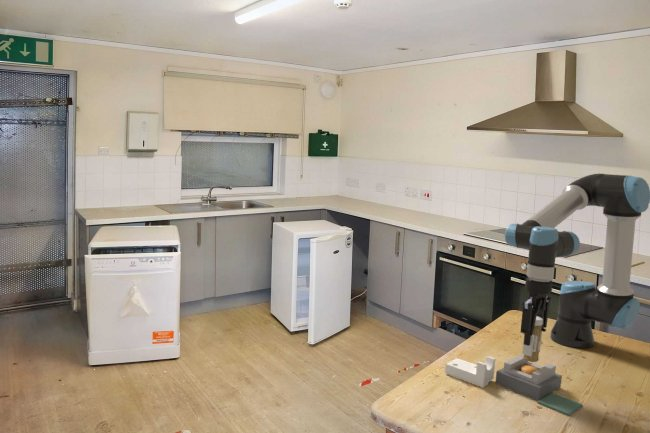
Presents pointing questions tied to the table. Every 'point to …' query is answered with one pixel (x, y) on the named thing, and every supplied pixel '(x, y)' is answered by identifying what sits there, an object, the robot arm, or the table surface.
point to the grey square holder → (528, 378)
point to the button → (528, 369)
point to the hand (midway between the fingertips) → (531, 352)
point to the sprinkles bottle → (535, 341)
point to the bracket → (472, 371)
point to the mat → (560, 404)
